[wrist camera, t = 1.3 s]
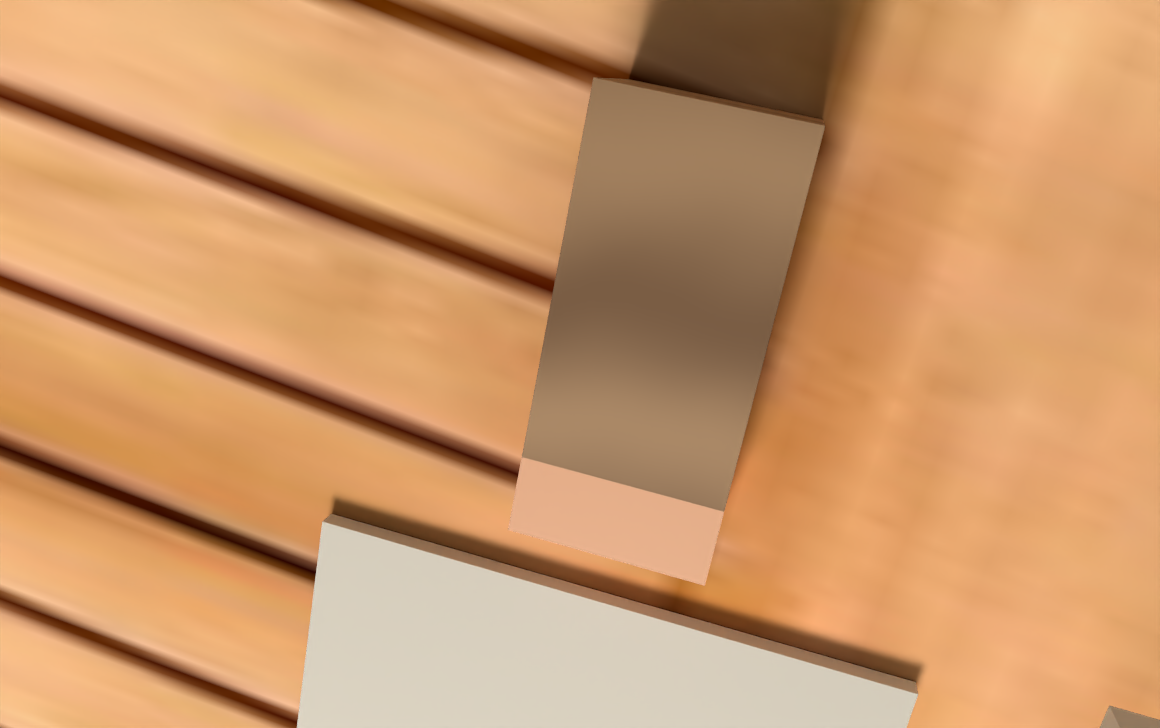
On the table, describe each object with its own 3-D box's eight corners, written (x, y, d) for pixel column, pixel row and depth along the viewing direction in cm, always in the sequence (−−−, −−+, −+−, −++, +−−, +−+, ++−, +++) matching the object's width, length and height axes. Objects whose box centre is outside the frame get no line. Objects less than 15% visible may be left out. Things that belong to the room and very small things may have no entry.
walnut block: (628, 78, 26) (593, 77, 21) (822, 119, 25) (825, 125, 21) (552, 465, 29) (507, 529, 25) (720, 510, 28) (704, 585, 24)
